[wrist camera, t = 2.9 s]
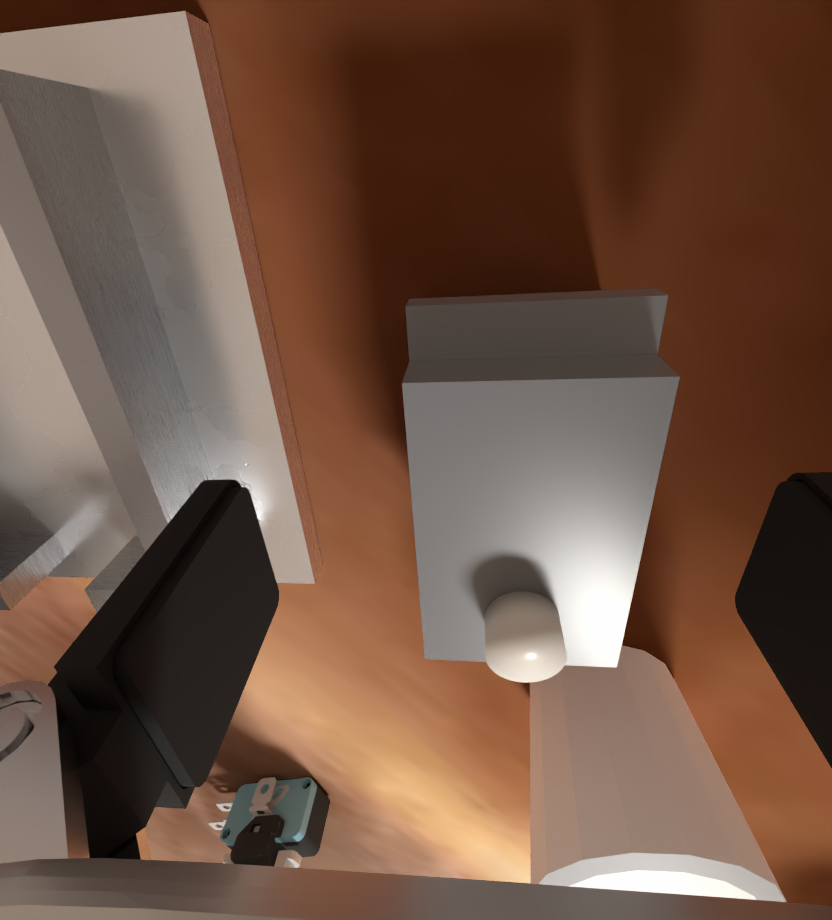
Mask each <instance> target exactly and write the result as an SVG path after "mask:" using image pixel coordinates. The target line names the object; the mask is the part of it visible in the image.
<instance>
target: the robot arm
mask: <svg viewBox="0 0 832 920" xmlns="http://www.w3.org/2000/svg"><path fill="white" fill-rule="evenodd" d="M278 601H279V590H278V586H277V582H276V579H275V575H274V572H273V569H272V565H271V562H270V558H269V555H268V552H267V548H266V545H265V542H264V538H263V535H262V531H261V528H260V525H259V521H258V518H257V514H256V511H255V508H254V504H253V501H252V498H251V494H250V492H249V490H248V489H247V488H246V487H241V485H240V484H239V482H238V481H236V480H204V481H203V482H201V483H200V484H199V486H198V487H197V488H196V489H195V491H194V492H193V493H192V494H191V496H190V497H189V498H188V499H187V501H186V502H185V503H184V504H183V506H182V507H181V508H180V509H179V511H178V512H177V513H176V514H175V516H174V517H173V518H172V519H171V521H170V522H169V523H168V524H167V526H166V527H165V528H164V529H163V531H162V532H161V533H160V534H159V536H158V537H157V538H156V540H155V541H154V542H153V543H152V545H151V546H150V547H149V548H148V550H147V551H146V552H145V553H144V555H143V556H142V557H141V558H140V560H139V561H138V562H137V563H136V565H135V566H134V567H133V568H132V570H131V571H130V572H129V573H128V575H127V576H126V577H125V578H124V580H123V581H122V582H121V583H120V585H119V586H118V587H117V588H116V590H115V591H114V592H113V593H112V595H111V596H110V597H109V598H108V600H107V601H106V602H105V603H104V605H103V606H102V607H101V608H100V610H99V611H98V612H97V613H96V615H95V616H94V617H93V618H92V620H91V621H90V622H89V624H88V625H87V626H86V627H85V629H84V630H83V631H82V632H81V634H80V635H79V636H78V637H77V639H76V640H75V641H74V642H73V644H72V645H71V646H70V647H69V649H68V650H67V651H66V652H65V654H64V655H63V656H62V657H61V659H60V660H59V661H58V662H57V664H56V665H55V666H54V668H55V669H56V671H57V674H56V675H55V676H54V678H53V679H52V680H51V681H50V683H49V684H48V685H46V684H45V683H43V682H41V681H33V680H24V681H18V682H12V683H8V684H6V685H3V686H0V920H832V906H831V905H818V904H805V903H791V902H778V901H765V900H752V899H738V898H725V897H712V896H698V895H684V894H669V893H655V892H641V891H627V890H613V889H599V888H585V887H571V886H556V885H542V884H528V883H513V882H499V881H485V880H470V879H456V878H441V877H427V876H411V875H396V874H381V873H365V872H350V871H334V870H319V869H304V868H288V867H273V866H257V865H242V864H227V863H204V862H181V861H159V860H152V859H151V854H150V849H149V844H148V840H147V835H146V830H145V827H146V825H147V822H148V820H149V818H150V816H151V814H152V812H153V810H154V808H155V807H166V808H183V809H186V807H187V804H188V802H189V800H190V797H191V795H192V793H193V790H194V788H195V787H200V786H201V785H203V783H204V782H205V781H206V779H207V777H208V775H209V773H210V771H211V768H212V766H213V763H214V761H215V758H216V756H217V753H218V751H219V748H220V746H221V744H222V741H223V739H224V736H225V734H226V731H227V729H228V726H229V724H230V722H231V719H232V717H233V714H234V712H235V709H236V707H237V704H238V702H239V699H240V697H241V695H242V692H243V690H244V687H245V685H246V682H247V680H248V677H249V675H250V673H251V670H252V668H253V665H254V663H255V660H256V658H257V655H258V653H259V650H260V648H261V646H262V643H263V641H264V638H265V636H266V633H267V631H268V628H269V626H270V623H271V621H272V619H273V616H274V614H275V611H276V609H277V606H278ZM735 603H736V608H737V612H738V614H739V616H740V618H741V619H742V621H743V623H744V624H745V626H746V627H747V629H748V631H749V632H750V634H751V636H752V637H753V639H754V641H755V642H756V644H757V646H758V647H759V649H760V651H761V652H762V654H763V656H764V657H765V659H766V661H767V662H768V664H769V665H770V667H771V669H772V670H773V672H774V674H775V675H776V677H777V679H778V680H779V682H780V684H781V685H782V687H783V689H784V690H785V692H786V694H787V695H788V697H789V698H790V700H791V702H792V703H793V705H794V707H795V708H796V710H797V712H798V713H799V715H800V717H801V718H802V720H803V722H804V723H805V725H806V727H807V728H808V730H809V732H810V733H811V735H812V736H813V738H814V740H815V741H816V743H817V745H818V746H819V748H820V750H821V751H822V753H823V755H824V756H825V758H826V760H827V761H828V763H829V765H830V766H831V768H832V472H822V473H795V474H792V475H791V476H790V477H789V478H788V480H787V481H785V482H781V483H780V484H779V485H778V486H777V488H776V490H775V493H774V495H773V498H772V501H771V503H770V506H769V508H768V511H767V514H766V516H765V519H764V521H763V524H762V527H761V529H760V532H759V534H758V537H757V540H756V542H755V545H754V548H753V550H752V553H751V555H750V558H749V561H748V563H747V566H746V568H745V571H744V574H743V576H742V579H741V581H740V584H739V587H738V589H737V592H736V596H735Z"/></svg>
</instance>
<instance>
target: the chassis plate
mask: <svg viewBox="0 0 832 920" xmlns="http://www.w3.org/2000/svg"><path fill="white" fill-rule="evenodd" d="M204 480H236V481H238V482H239V484H240V485H241V487H246V488H247V489H248V490H249V492H250V494H251V498H252V501H253V504H254V508H255V511H256V514H257V518H258V521H259V525H260V528H261V531H262V535H263V538H264V542H265V545H266V548H267V552H268V555H269V558H270V562H271V565H272V569H273V572H274V575H275V579H276V582H277V583H306V584H315V583H316V580H317V577H318V575H319V572H320V570H321V567H322V565H323V563H322V558H321V553H320V548H319V544H318V539H317V534H316V529H315V525H314V520H313V515H312V510H311V506H310V501H309V496H308V491H307V487H306V482H305V477H304V472H303V468H302V463H301V458H300V453H299V449H298V444H297V439H296V434H295V430H294V425H293V420H292V415H291V411H290V406H289V401H288V396H287V392H286V387H285V382H284V377H283V373H282V368H281V363H280V358H279V354H278V349H277V344H276V339H275V335H274V330H273V325H272V320H271V316H270V311H269V306H268V301H267V297H266V292H265V287H264V282H263V278H262V273H261V268H260V263H259V259H258V254H257V249H256V244H255V240H254V235H253V230H252V225H251V221H250V216H249V211H248V206H247V202H246V197H245V192H244V187H243V183H242V178H241V173H240V168H239V164H238V159H237V154H236V149H235V145H234V140H233V135H232V130H231V126H230V121H229V116H228V111H227V107H226V102H225V97H224V92H223V88H222V83H221V78H220V73H219V69H218V64H217V59H216V54H215V50H214V45H213V40H212V35H211V31H210V26H209V24H208V23H206V22H205V21H203V20H201V19H199V18H197V17H195V16H194V15H192V14H190V13H188V12H186V11H180V12H172V13H163V14H155V15H147V16H139V17H131V18H122V19H114V20H106V21H98V22H89V23H81V24H73V25H65V26H56V27H48V28H40V29H32V30H24V31H15V32H7V33H0V610H11V609H12V608H13V607H14V606H15V605H16V604H17V603H18V602H19V601H20V600H22V599H23V598H24V597H25V596H26V595H27V594H28V593H29V592H30V591H31V590H32V589H33V588H34V587H35V586H36V585H37V584H38V583H39V582H40V581H42V580H43V579H44V578H45V577H46V576H53V577H90V578H95V579H94V580H93V581H92V582H91V583H90V584H89V585H88V586H87V587H86V589H85V591H86V593H87V595H88V597H89V598H90V600H91V602H92V604H93V606H94V607H95V609H96V611H97V612H98V611H99V610H100V608H101V607H102V606H103V605H104V603H105V602H106V601H107V600H108V598H109V597H110V596H111V595H112V593H113V592H114V591H115V590H116V588H117V587H118V586H119V585H120V583H121V582H122V581H123V580H124V578H125V577H126V576H127V575H128V573H129V572H130V571H131V570H132V568H133V567H134V566H135V565H136V563H137V562H138V561H139V560H140V558H141V557H142V556H143V555H144V553H145V552H146V551H147V550H148V548H149V547H150V546H151V545H152V543H153V542H154V541H155V540H156V538H157V537H158V536H159V534H160V533H161V532H162V531H163V529H164V528H165V527H166V526H167V524H168V523H169V522H170V521H171V519H172V518H173V517H174V516H175V514H176V513H177V512H178V511H179V509H180V508H181V507H182V506H183V504H184V503H185V502H186V501H187V499H188V498H189V497H190V496H191V494H192V493H193V492H194V491H195V489H196V488H197V487H198V486H199V484H200V483H201V482H203V481H204Z"/></svg>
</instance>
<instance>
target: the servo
mask: <svg viewBox="0 0 832 920" xmlns="http://www.w3.org/2000/svg"><path fill="white" fill-rule="evenodd" d="M667 300H668V295H667V294H666V293H664V292H662V291H661V290H659V289H658V288H644V289H621V290H598V291H575V292H553V293H530V294H507V295H484V296H462V297H439V298H416V299H409V300H408V302H407V304H406V306H405V310H406V323H407V337H408V351H409V363H408V366H407V369H406V372H405V375H404V378H403V381H402V390H403V402H404V414H405V426H406V438H407V450H408V462H409V474H410V486H411V498H412V510H413V522H414V534H415V546H416V558H417V570H418V582H419V594H420V606H421V618H422V630H423V642H424V654H425V659H433V660H456V661H479V662H487V664H488V666H489V667H490V668H491V669H492V671H494V672H495V673H496V674H497V675H499V676H501V677H503V678H505V679H508V680H511V681H516V682H526V683H529V682H538V681H542V680H546V679H548V678H551V677H553V676H554V675H556V674H557V673H558V672H560V671H561V670H562V668H563V667H564V665H570V666H592V667H615V668H617V665H618V660H619V656H620V651H621V647H622V642H623V637H624V633H625V628H626V623H627V619H628V614H629V610H630V605H631V600H632V596H633V591H634V586H635V582H636V577H637V573H638V568H639V563H640V559H641V554H642V550H643V545H644V540H645V536H646V531H647V526H648V522H649V517H650V513H651V508H652V503H653V499H654V494H655V489H656V485H657V480H658V476H659V471H660V466H661V462H662V457H663V453H664V448H665V443H666V439H667V434H668V429H669V425H670V420H671V416H672V411H673V406H674V402H675V397H676V393H677V388H678V383H679V379H680V376H679V375H678V374H677V373H676V372H675V371H674V370H673V369H672V368H671V367H670V366H669V365H668V364H667V363H666V362H665V361H664V360H663V359H662V358H661V357H660V356H659V355H658V348H659V343H660V338H661V332H662V327H663V322H664V316H665V311H666V306H667Z"/></svg>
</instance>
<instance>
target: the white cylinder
mask: <svg viewBox="0 0 832 920" xmlns="http://www.w3.org/2000/svg"><path fill="white" fill-rule="evenodd" d="M530 824H531V884H542V885H556V886H571V887H585V888H599V889H613V890H627V891H641V892H655V893H669V894H684V895H698V896H712V897H725V898H738V899H752V900H765V901H778V902H787V901H786V899H785V897H784V895H783V893H782V892H781V890H780V888H779V886H778V884H777V882H776V880H775V878H774V876H773V874H772V872H771V870H770V868H769V866H768V864H767V862H766V860H765V858H764V856H763V854H762V852H761V850H760V848H759V846H758V844H757V842H756V840H755V838H754V836H753V834H752V832H751V830H750V828H749V826H748V824H747V822H746V820H745V818H744V816H743V814H742V813H741V811H740V809H739V807H738V805H737V803H736V801H735V799H734V797H733V795H732V793H731V791H730V789H729V787H728V785H727V783H726V781H725V779H724V777H723V775H722V773H721V771H720V769H719V767H718V765H717V763H716V761H715V759H714V757H713V755H712V753H711V751H710V749H709V747H708V745H707V743H706V741H705V739H704V737H703V735H702V734H701V732H700V730H699V728H698V726H697V724H696V722H695V720H694V718H693V716H692V714H691V712H690V710H689V708H688V706H687V704H686V702H685V700H684V698H683V696H682V694H681V692H680V690H679V688H678V686H677V684H676V682H675V680H674V678H673V677H672V675H671V673H670V672H669V670H668V668H667V666H666V665H665V663H663V662H662V661H660V660H658V659H657V658H655V657H654V656H652V655H651V654H649V653H647V652H646V651H644V650H640V649H636V648H631V647H627V646H623V645H622V647H621V651H620V656H619V660H618V665H617V668H615V667H592V666H570V665H564V667H563V668H562V670H561V671H560V672H558V673H557V674H556V675H554V676H553V677H551V678H548V679H546V680H542V681H538V682H530Z"/></svg>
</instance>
